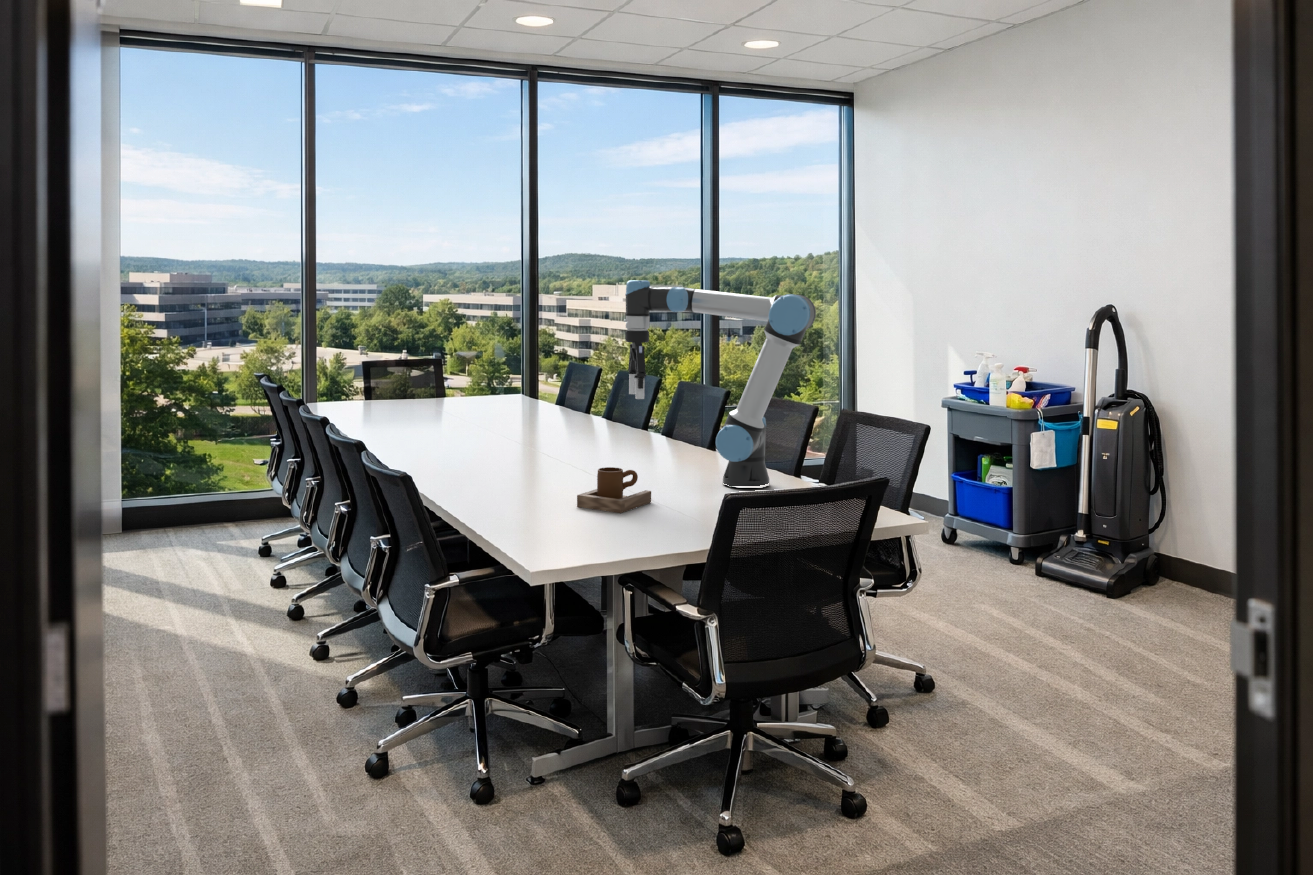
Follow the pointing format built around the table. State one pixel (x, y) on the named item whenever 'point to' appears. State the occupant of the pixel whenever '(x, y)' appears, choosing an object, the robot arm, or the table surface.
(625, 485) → the mug
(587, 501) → the u rest
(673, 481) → the table surface
